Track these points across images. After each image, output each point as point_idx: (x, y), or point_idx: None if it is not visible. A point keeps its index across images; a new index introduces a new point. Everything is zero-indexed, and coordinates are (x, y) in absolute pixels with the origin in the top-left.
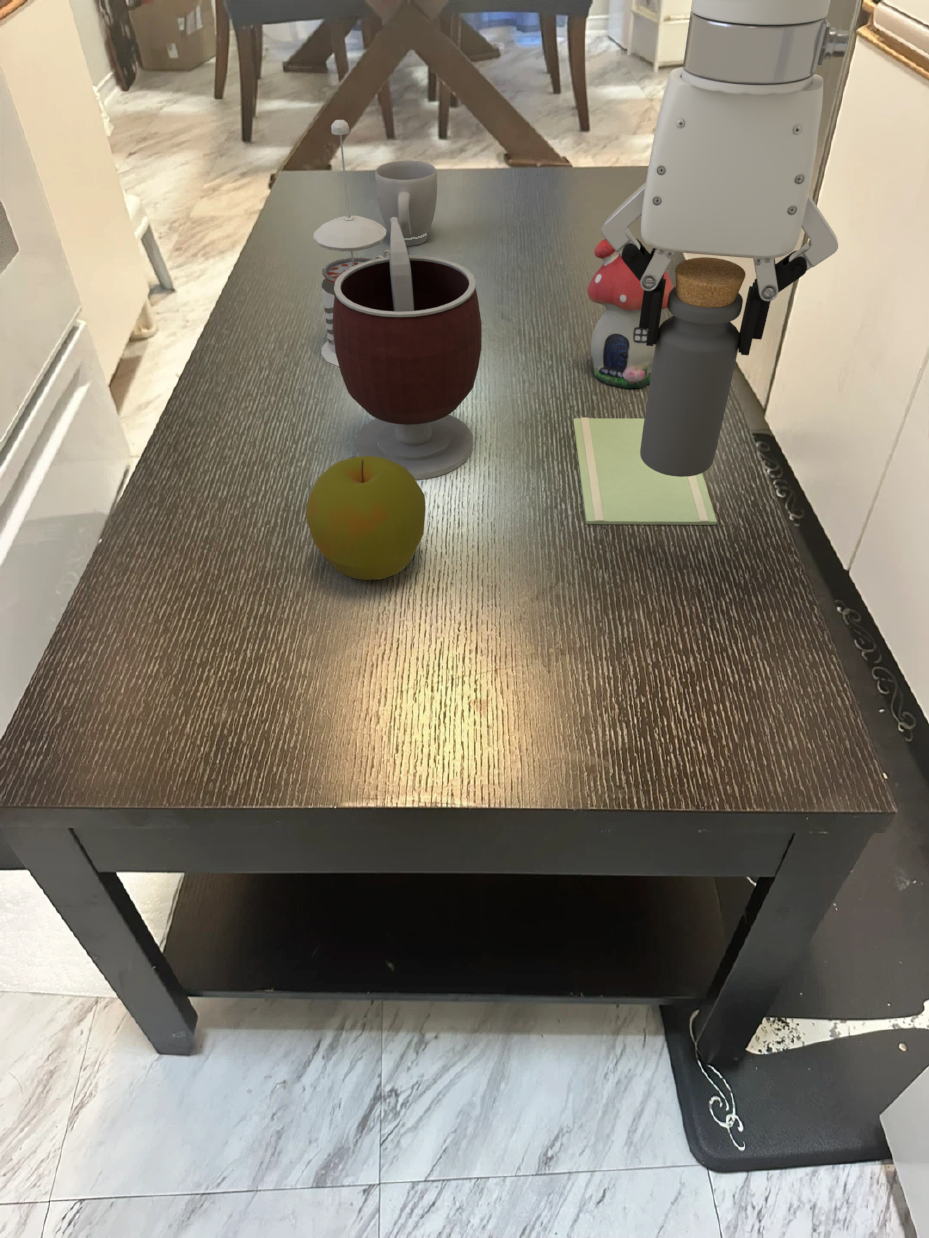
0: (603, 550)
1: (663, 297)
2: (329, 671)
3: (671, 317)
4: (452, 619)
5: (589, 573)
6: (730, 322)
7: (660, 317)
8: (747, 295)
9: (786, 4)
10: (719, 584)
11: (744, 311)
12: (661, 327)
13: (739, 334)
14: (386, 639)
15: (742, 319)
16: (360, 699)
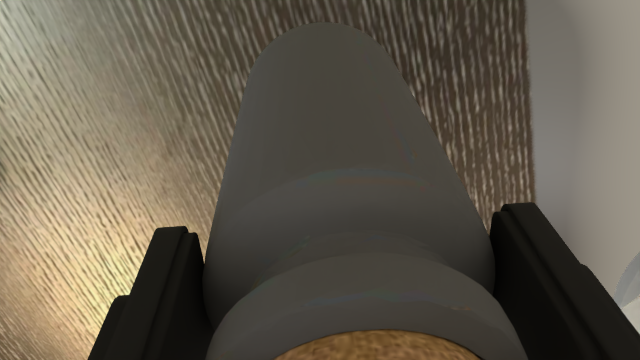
0: (227, 26)
1: (173, 341)
2: (9, 306)
3: (234, 284)
4: (87, 212)
5: (221, 85)
6: (467, 261)
7: (190, 271)
8: (565, 324)
9: None
10: (408, 57)
11: (532, 296)
12: (213, 320)
13: (493, 282)
14: (34, 257)
15: (518, 260)
16: (62, 324)
